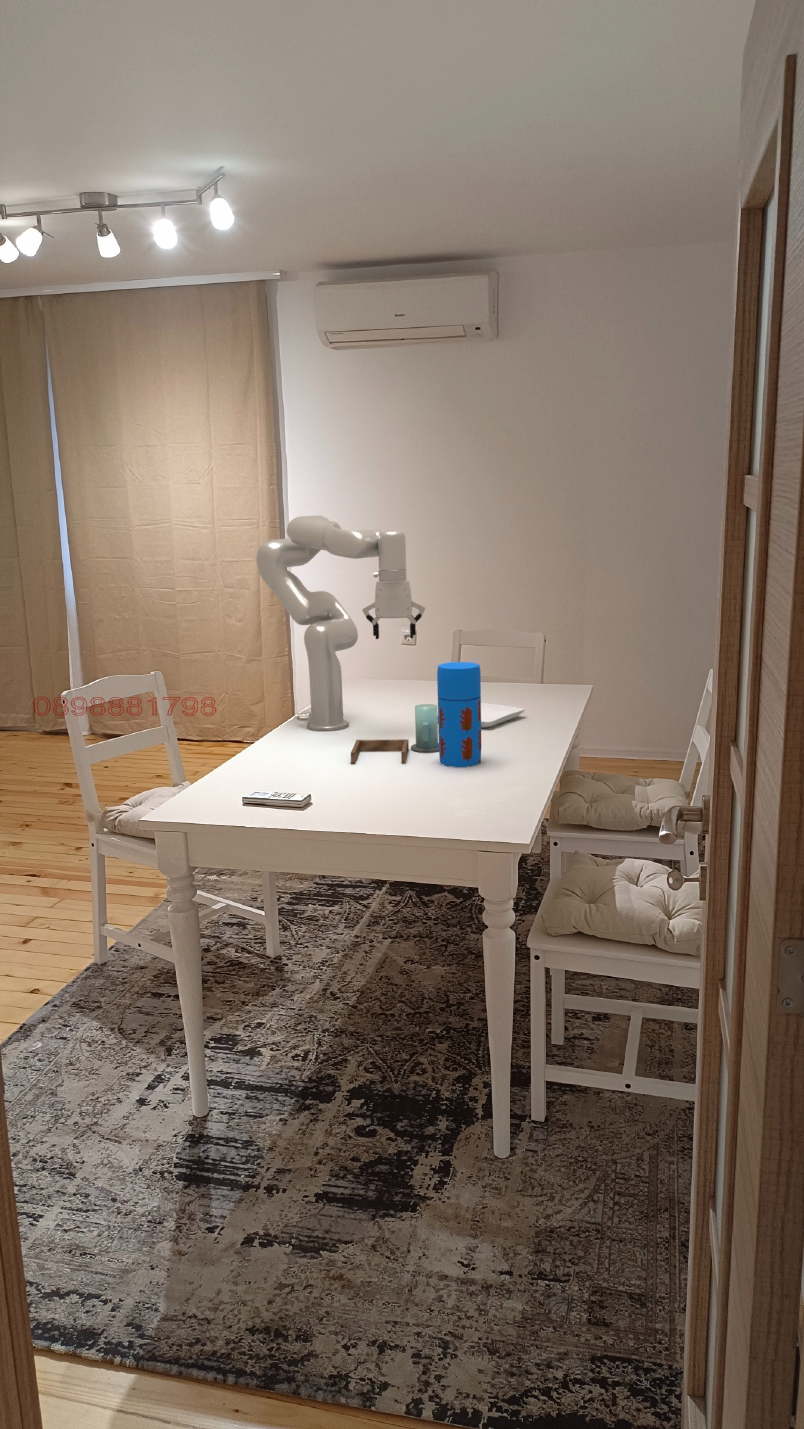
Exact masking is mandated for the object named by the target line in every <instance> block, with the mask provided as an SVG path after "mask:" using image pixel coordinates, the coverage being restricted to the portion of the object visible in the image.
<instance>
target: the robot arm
mask: <svg viewBox="0 0 804 1429" xmlns="http://www.w3.org/2000/svg"><path fill="white" fill-rule="evenodd" d="M286 534H287V537H288V538H277V539H271V540H267V541H265V542H263V543H262V544H261V545H260V546H259V547H258V549H257V552H256V557H255V558H256V561H255V562H256V567H257V570H258V574H259V575H260V578H262V580H263V582H264V583H265V584H266V586H268V588H269V589H270V590H271V591H272V592H273V594H274V595H275V596H276V597H277V598H278V601H280V603H281V605H282V606H283V607H284V608H285V610H286V611H287V613H288V614H289V615H290V617H291V619H292V620H293V622H295V623H296V624H297V625H299V626H308V627H307V628H306V629H305V631H304V634H303V641H304V642H303V643H304V646H305V650H306V651H305V652H306V656H307V663H308V676H309V696H310V712H307V713H301V712H300V713H297V714H296V719H297V721H301V722H303V721H307V723H306V728H307V729H309V730H311V731H317V732H318V731H323V732H325V731H337V730H338V731H339V730H342V729H346V728H347V727H349V722H350V721H348V720H347V719H344V706H343V705H344V703H343V702H344V701H343V700H344V699H343V680H342V679H343V678H342V667H341V666H342V665H341V663H340V660H339V658H338V656H337V654H336V652H340V651H344V650H348V649H350V648H352V647H354V646H355V645H356V644H357V641H358V639H359V632H358V628H357V625H356V624H355V623H354V620H353V619H352V617H350V615H349V614H348V612H347V611H346V610H345V608H344V607H343V606H342V604H341V603H340V601H339V600H338V599H337V598H336V596H334V595H333V594H332V593H330V592H328V591H325V590H324V591H323V590H319V591H318V590H317V591H310V590H308V588H307V587H306V586H305V585H304V584H303V582H302V580H301V579H300V578H299V577H298V576H296V574H294V573H293V572H291V571H290V570H288V569H287V568H293V567H300V566H304V565H306V564H308V563H309V562H310V561H312V559H314V558H315V556H317V555H318V553H320V552H321V551H326V552H328V553H329V554H330V555H333V556H337V557H342V558H347V559H354V560H355V559H366V558H367V559H368V558H377V557H378V571H376V572H373V578H377V579H378V581H376V583H375V591H374V593H375V594H374V602H373V603H372V602H371V604H369V605H367V606H365V607H363V608H362V612H363V614H364V616H365V618H366V619H367V620H368V622H370V623H371V624H372V635H373V636H374V637H375V640H379V639H380V624H379V623H378V622H379V621H380V620H381V619H406V618H407V619H408V620H409V622H410V624H409V634H410V635H409V639H414V636H416V635H417V629H416V626H417V625H416V623H417V622H418V621H419V620H420V619H422V617H423V614H424V612H425V610H426V607H425V606H423V605H422V604H419V603H417V602H415V601H413V600H412V589H411V588H412V587H411V584H410V581H409V580H407V549H406V546H407V545H406V543H407V542H406V541H407V540H406V535H405V534H406V533H405V532H404V531H402V530H398V529H397V530H382V529H363V530H362V529H361V530H348V529H342V527H341V524H339V523H338V522H336V521H332V520H330V519H328V517H325V516H323V515H302V516H296V517H294V518H293V519H291V520H290V521H289V523H288V524H287V527H286ZM413 608H415V609H417V610H418V613H417V615H415V617H414V615H413V614H412V613H413ZM373 609H374V614H375V617H373V615H371V614H370V611H371V610H373Z"/></svg>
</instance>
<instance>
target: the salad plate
mask: <svg viewBox="0 0 804 1429" xmlns="http://www.w3.org/2000/svg"><path fill="white" fill-rule="evenodd" d="M524 712H525V707H524V708H522V707H515V706H509V705H503V704H497V703H486V702H481V729H482V728H484V729H486V728H487V729H488V728H491V727H493V726H497V725H500V724H502V722H503V723H505V722H507V720H508V721H510V720H512V719H515V718H517V717H519V716H520V715H522V714H523V713H524ZM437 720H438V711H437ZM499 723H500V724H499Z"/></svg>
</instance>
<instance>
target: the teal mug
mask: <svg viewBox="0 0 804 1429" xmlns="http://www.w3.org/2000/svg"><path fill="white" fill-rule="evenodd" d="M437 712H438V704H433V703H432V704H431V703H424V704H417V705H414V721H415V722H414V723H415V724H414V728H415V744H416V747H417V748H420V749H433V748H436V747H438V743H439V733H438V720H437Z"/></svg>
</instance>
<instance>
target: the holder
mask: <svg viewBox="0 0 804 1429" xmlns="http://www.w3.org/2000/svg"><path fill="white" fill-rule="evenodd" d="M409 744H410V743H409V739H408V738H404V739H403V738H401V739H397V738H396V739H395V738H394V739H356V741H355V742H354V745H353V747H352V749H351V752H350V764H351V765H356V762H357V761H358V758H359V755H360V753H361V752H362V753H363V752H365V753H366V752H369V753H370V752H401V753H400V754H401V758H400V759H401V764H402V765H403V764H407V759H408V755H409V751H410V749H409V747H410V746H409Z"/></svg>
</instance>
